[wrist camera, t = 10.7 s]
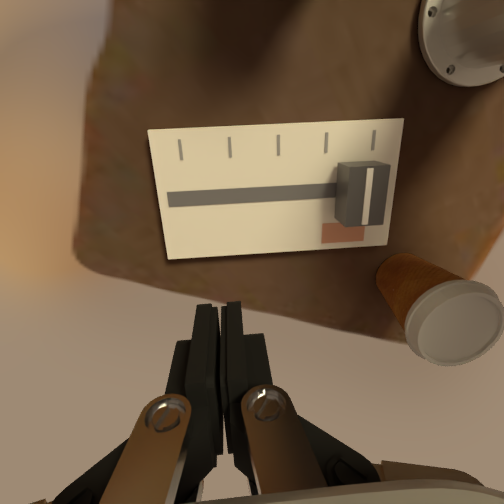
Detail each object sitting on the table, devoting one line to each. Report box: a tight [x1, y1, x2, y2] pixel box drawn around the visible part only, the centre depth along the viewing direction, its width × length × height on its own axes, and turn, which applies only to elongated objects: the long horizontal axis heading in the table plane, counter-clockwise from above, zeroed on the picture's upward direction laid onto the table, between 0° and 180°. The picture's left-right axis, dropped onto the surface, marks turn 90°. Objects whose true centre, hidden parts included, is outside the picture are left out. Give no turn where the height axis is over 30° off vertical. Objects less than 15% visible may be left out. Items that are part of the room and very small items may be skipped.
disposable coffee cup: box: [376, 253, 504, 366], centre depth 36 cm, size 10×10×12 cm
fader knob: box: [334, 161, 391, 227], centre depth 32 cm, size 4×6×4 cm, turn 2°
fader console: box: [148, 118, 404, 259], centre depth 35 cm, size 26×14×2 cm, turn 92°
